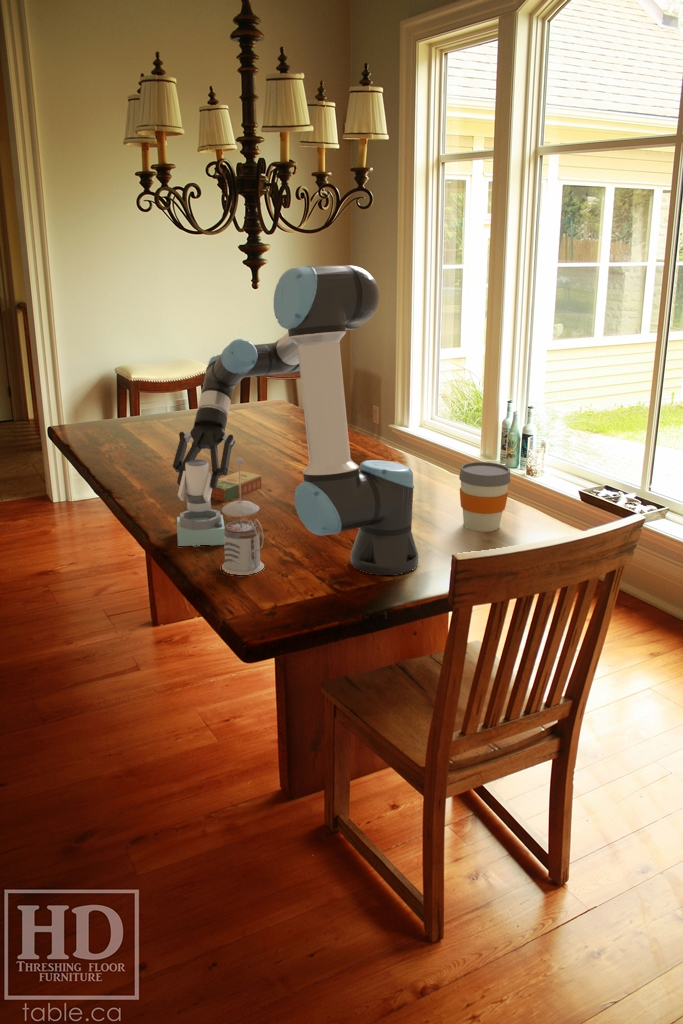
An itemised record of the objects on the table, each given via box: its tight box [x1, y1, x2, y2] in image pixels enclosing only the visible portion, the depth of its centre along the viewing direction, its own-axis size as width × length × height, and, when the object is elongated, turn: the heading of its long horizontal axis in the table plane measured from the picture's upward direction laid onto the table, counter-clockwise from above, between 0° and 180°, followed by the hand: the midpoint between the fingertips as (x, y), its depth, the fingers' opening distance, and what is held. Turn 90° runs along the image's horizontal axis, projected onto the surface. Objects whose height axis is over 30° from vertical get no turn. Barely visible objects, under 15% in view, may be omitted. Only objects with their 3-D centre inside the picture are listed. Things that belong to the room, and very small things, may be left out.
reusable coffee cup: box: [459, 461, 511, 533], centre depth 210 cm, size 13×13×15 cm
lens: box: [185, 459, 212, 512], centre depth 198 cm, size 6×6×11 cm
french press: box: [221, 457, 265, 576], centre depth 181 cm, size 10×12×25 cm
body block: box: [176, 508, 226, 547], centre depth 201 cm, size 10×11×6 cm
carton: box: [211, 470, 262, 503], centre depth 236 cm, size 8×16×4 cm, turn 147°
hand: (193, 498), depth 196 cm, fingers closed on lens, 5 cm apart
